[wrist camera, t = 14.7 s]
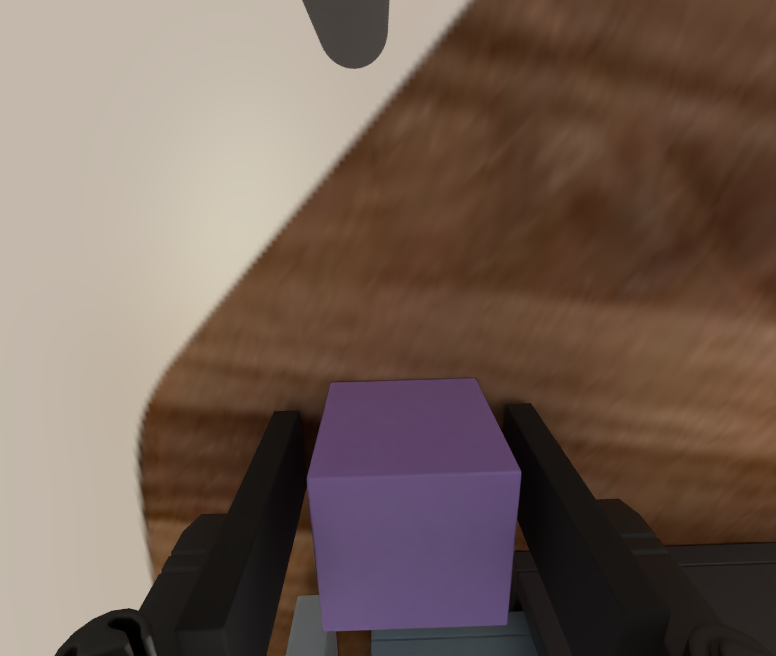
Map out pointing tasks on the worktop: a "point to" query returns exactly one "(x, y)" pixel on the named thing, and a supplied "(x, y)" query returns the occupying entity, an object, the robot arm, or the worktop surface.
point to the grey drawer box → (703, 567)
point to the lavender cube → (412, 507)
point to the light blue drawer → (412, 637)
